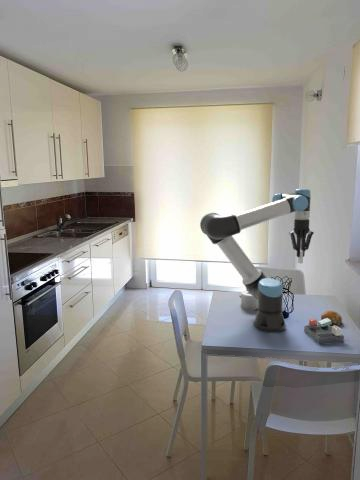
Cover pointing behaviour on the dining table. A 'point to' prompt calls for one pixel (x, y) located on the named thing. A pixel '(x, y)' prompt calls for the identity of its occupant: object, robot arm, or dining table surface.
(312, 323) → the red button
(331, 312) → the bread roll
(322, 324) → the rocker
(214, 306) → the dining table surface
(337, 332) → the slider knob
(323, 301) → the dining table surface
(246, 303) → the toilet tissue
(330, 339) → the panel
